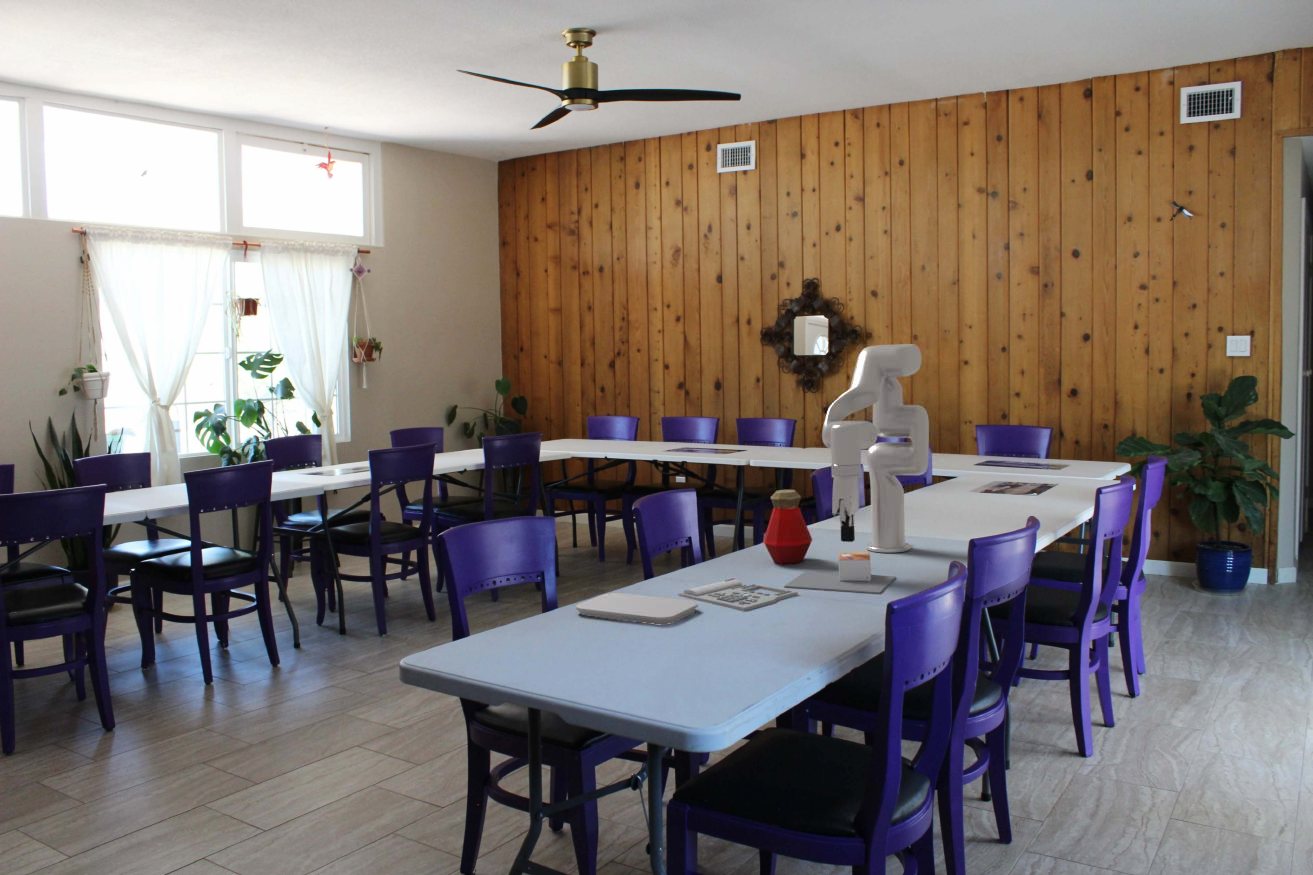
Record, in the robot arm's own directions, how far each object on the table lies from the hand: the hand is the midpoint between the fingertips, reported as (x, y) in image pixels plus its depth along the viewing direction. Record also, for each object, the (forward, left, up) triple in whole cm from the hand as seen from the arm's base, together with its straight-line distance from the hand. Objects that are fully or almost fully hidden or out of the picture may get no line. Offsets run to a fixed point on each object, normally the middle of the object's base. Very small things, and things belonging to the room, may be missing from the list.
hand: (847, 540), depth 255 cm
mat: (+8, 0, -9) cm, 12 cm away
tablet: (+50, -37, -10) cm, 63 cm away
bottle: (-14, -21, -10) cm, 27 cm away
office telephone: (+28, -20, -10) cm, 36 cm away
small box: (-3, +1, -6) cm, 7 cm away
